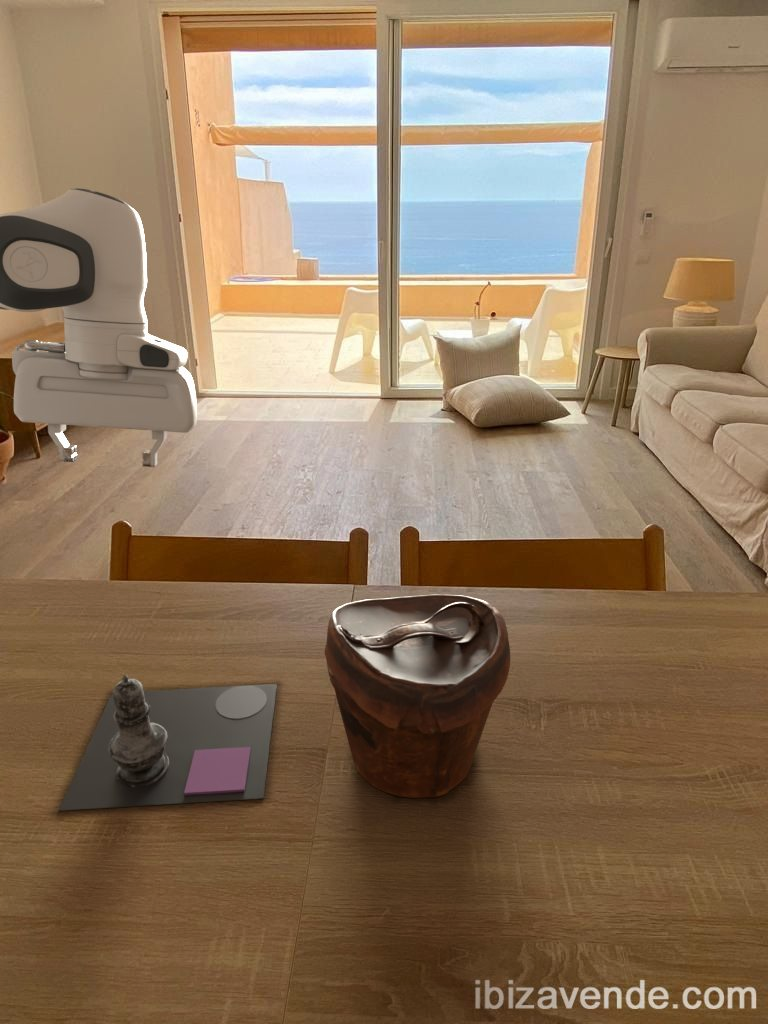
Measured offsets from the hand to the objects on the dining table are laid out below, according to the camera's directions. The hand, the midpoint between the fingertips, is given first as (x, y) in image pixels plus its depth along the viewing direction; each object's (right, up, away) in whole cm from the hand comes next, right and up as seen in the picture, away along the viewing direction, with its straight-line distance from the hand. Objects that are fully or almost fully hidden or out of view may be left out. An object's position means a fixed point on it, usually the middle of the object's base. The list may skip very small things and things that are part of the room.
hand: (109, 463), depth 84 cm
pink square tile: (+16, -33, -11) cm, 38 cm away
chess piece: (+8, -33, -11) cm, 36 cm away
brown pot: (+37, -32, -9) cm, 50 cm away
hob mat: (+11, -31, -7) cm, 34 cm away
